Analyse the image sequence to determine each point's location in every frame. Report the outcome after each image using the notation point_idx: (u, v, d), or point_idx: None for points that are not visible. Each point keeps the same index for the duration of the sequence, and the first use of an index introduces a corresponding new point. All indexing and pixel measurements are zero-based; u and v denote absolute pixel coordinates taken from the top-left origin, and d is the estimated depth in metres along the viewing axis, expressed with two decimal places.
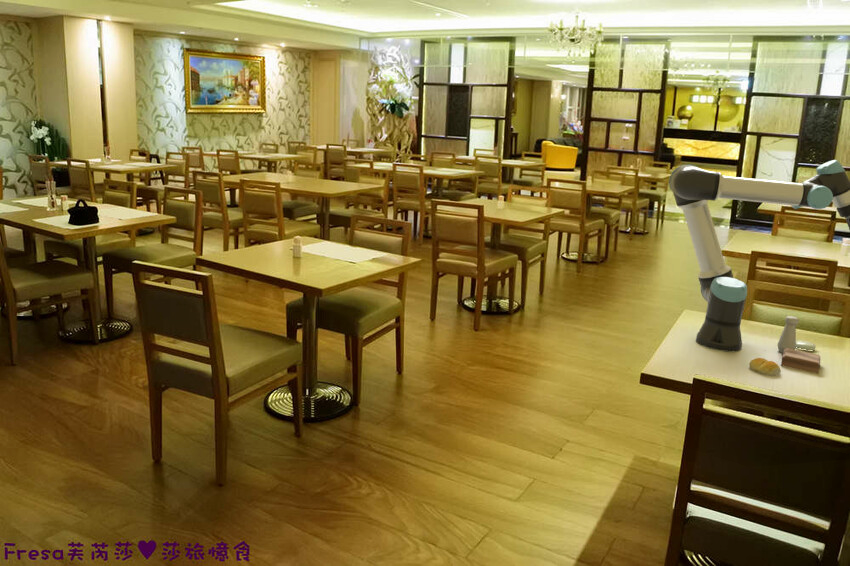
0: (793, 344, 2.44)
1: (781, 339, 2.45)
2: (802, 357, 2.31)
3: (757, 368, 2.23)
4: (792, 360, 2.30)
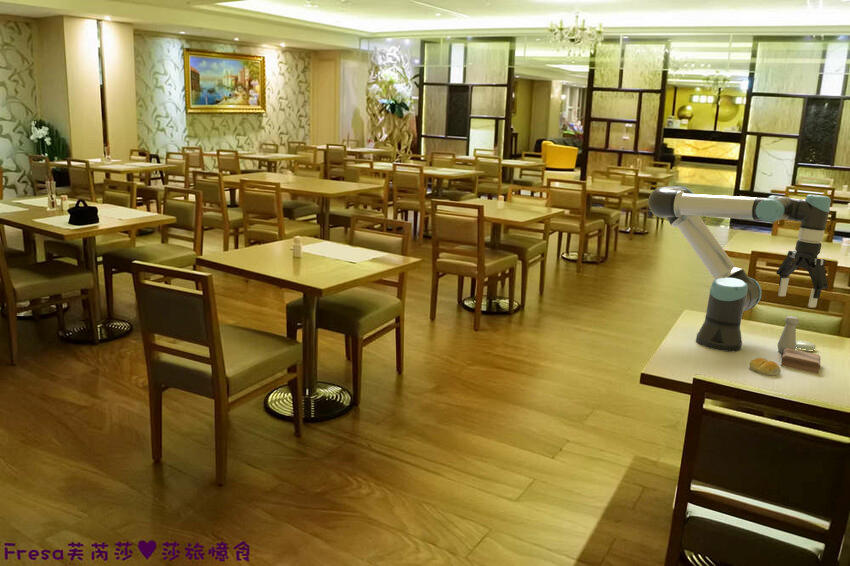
0: (793, 344, 2.44)
1: (781, 339, 2.45)
2: (802, 357, 2.31)
3: (757, 368, 2.23)
4: (792, 360, 2.30)
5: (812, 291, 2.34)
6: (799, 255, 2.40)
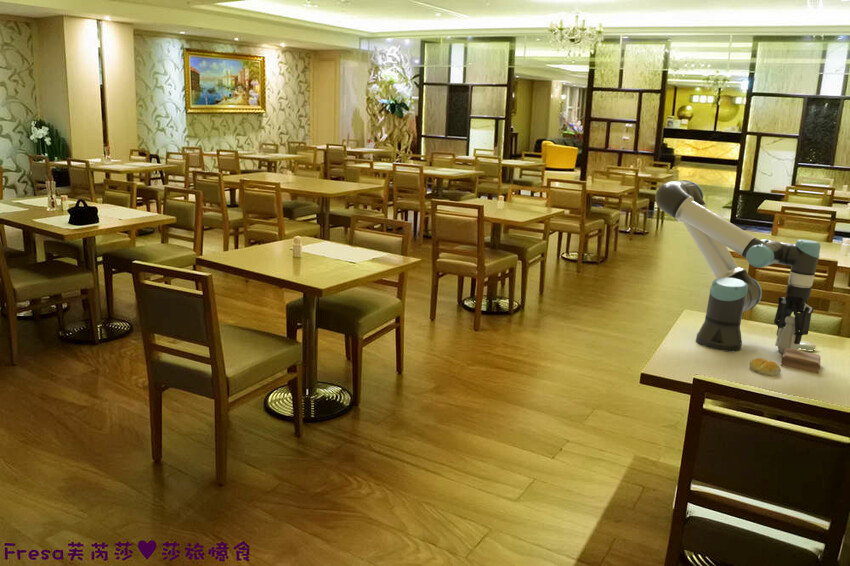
0: None
1: (781, 339, 2.45)
2: (802, 357, 2.31)
3: (757, 368, 2.23)
4: (792, 360, 2.30)
5: (793, 337, 2.42)
6: (789, 297, 2.44)
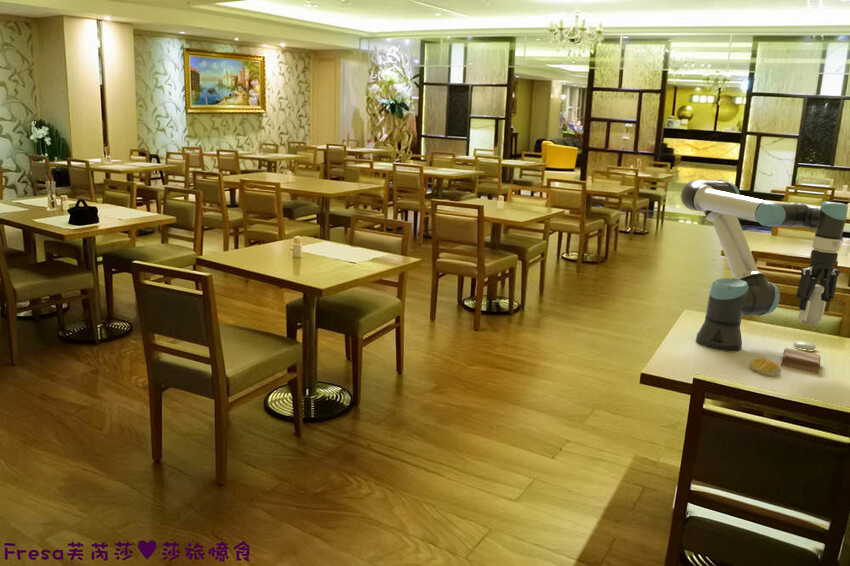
0: None
1: None
2: (802, 357, 2.31)
3: (757, 369, 2.22)
4: (792, 360, 2.30)
5: None
6: None
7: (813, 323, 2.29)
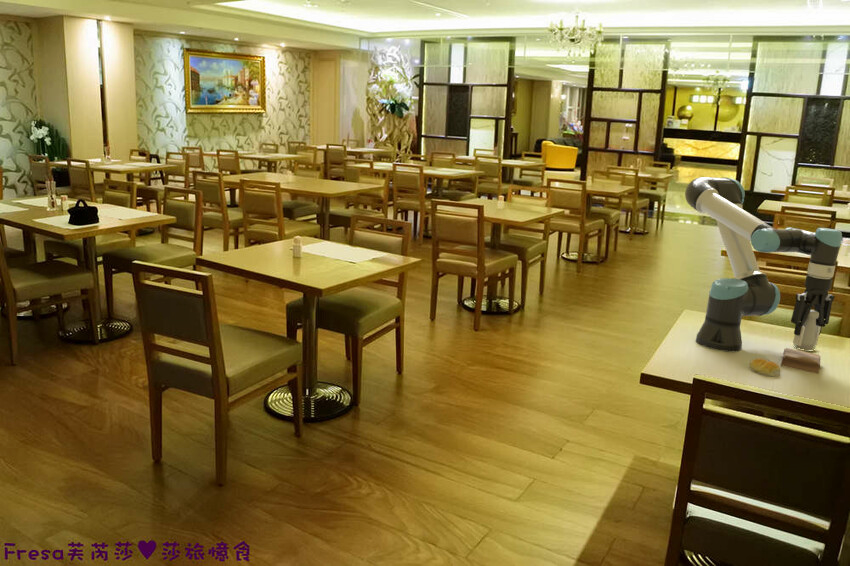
0: None
1: None
2: (802, 357, 2.31)
3: (757, 369, 2.22)
4: (792, 360, 2.30)
5: None
6: None
7: (808, 348, 2.30)
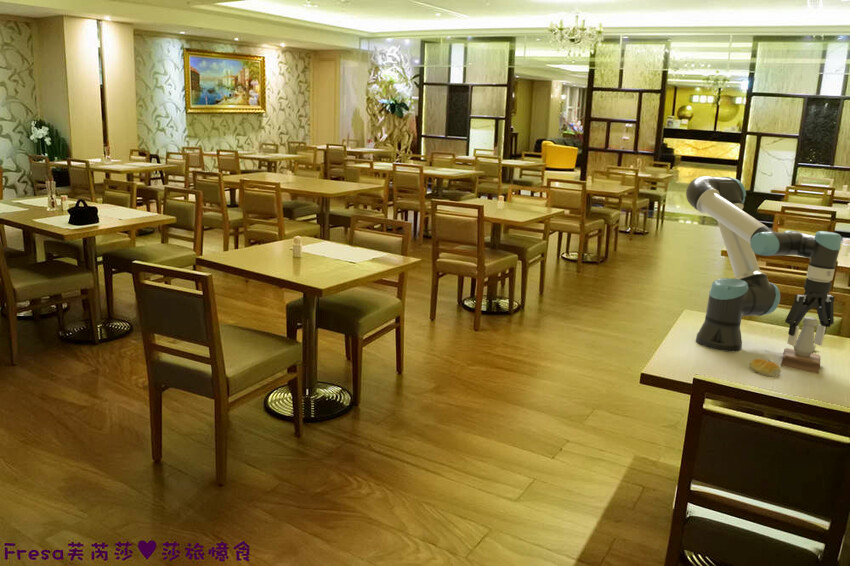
0: (798, 344, 2.32)
1: None
2: (802, 357, 2.31)
3: (757, 369, 2.22)
4: (792, 360, 2.30)
5: None
6: None
7: (806, 355, 2.31)
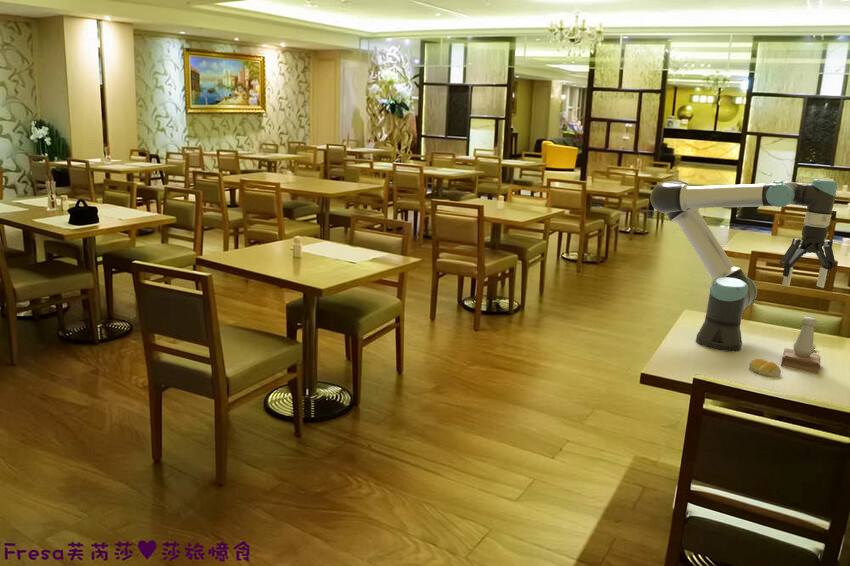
0: (798, 344, 2.32)
1: None
2: (802, 357, 2.31)
3: (757, 369, 2.22)
4: (792, 360, 2.30)
5: None
6: None
7: (806, 355, 2.31)
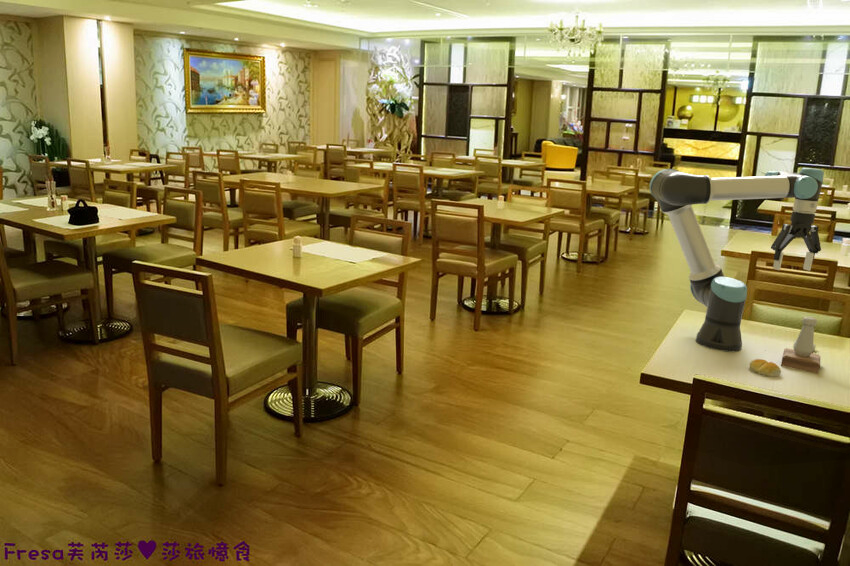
0: (798, 344, 2.32)
1: None
2: (802, 357, 2.31)
3: (757, 369, 2.22)
4: (792, 360, 2.30)
5: None
6: None
7: (806, 355, 2.31)
